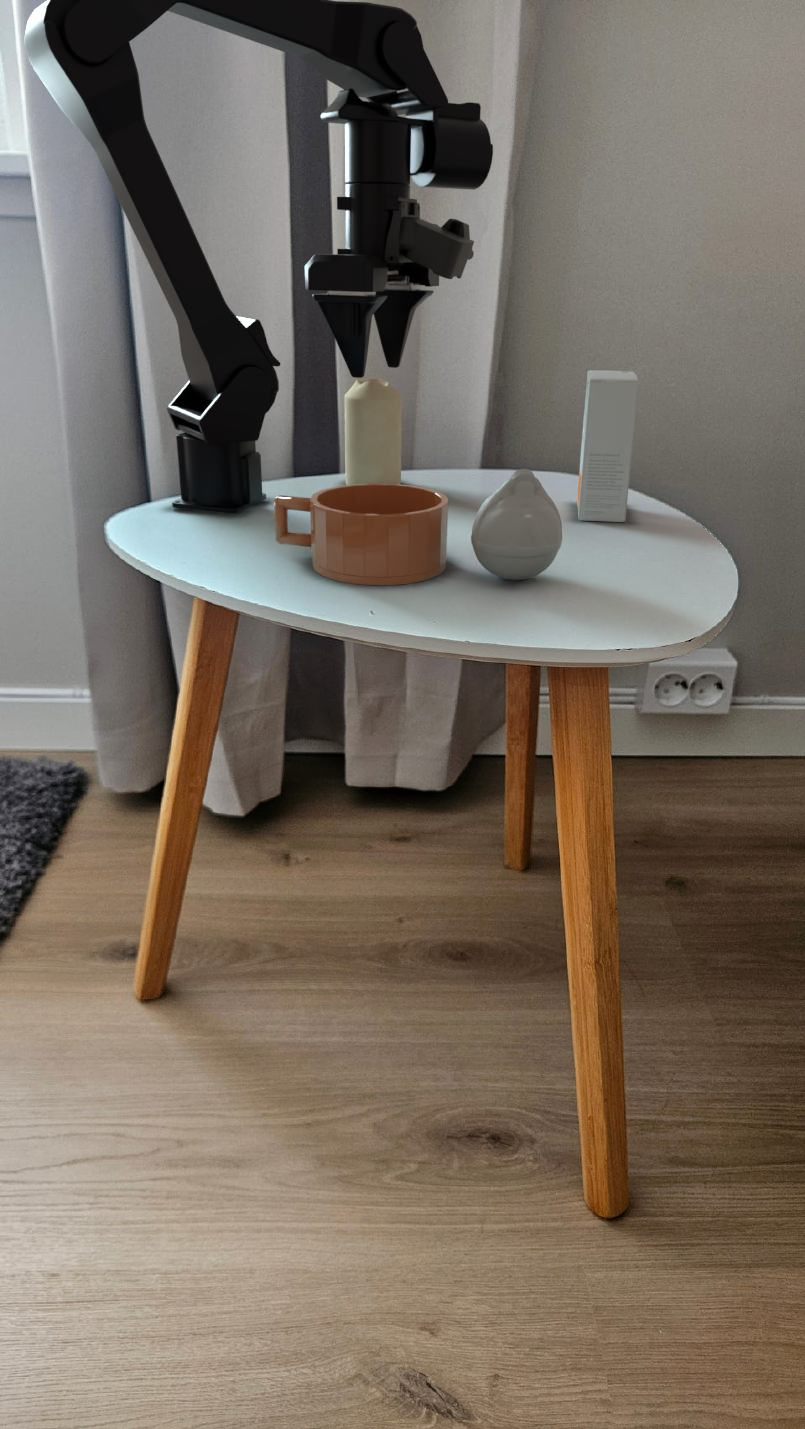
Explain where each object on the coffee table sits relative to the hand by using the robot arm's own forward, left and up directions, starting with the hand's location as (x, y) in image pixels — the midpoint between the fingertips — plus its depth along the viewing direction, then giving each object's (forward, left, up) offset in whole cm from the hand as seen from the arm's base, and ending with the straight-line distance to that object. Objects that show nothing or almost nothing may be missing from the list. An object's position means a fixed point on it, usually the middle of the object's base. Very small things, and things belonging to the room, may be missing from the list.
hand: (376, 372), depth 94 cm
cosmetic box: (+23, -2, -11) cm, 25 cm away
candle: (0, +1, -11) cm, 11 cm away
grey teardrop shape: (+20, -24, -11) cm, 33 cm away
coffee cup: (+8, -24, -11) cm, 28 cm away
